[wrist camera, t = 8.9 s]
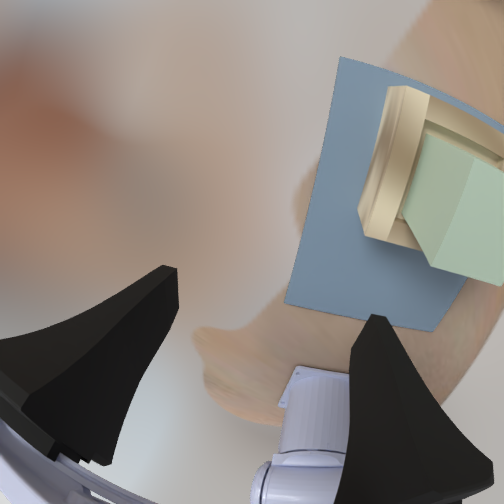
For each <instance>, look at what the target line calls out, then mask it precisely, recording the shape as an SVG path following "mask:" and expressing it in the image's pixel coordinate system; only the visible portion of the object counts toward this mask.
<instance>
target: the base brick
mask: <svg viewBox="0 0 504 504" xmlns="http://www.w3.org/2000/svg"><path fill="white" fill-rule="evenodd" d="M426 133H427V134H429V135H431V136H434V137H436V138H438V139H441V140H443V141H445V142H448V143H450V144H452V145H454V146H456V147H458V148H460V149H462V150H465V151H467V152H469V153H471V154H473V155H475V156H476V157H478V158H480V159H482V160H484V161H486V162H488V163H490V164H491V165H493V166H495V167H496V168H498V169H500V170H501V171H503V172H504V134H503V133H501V132H500V131H498V130H496V129H495V128H493V127H491V126H490V125H488V124H486V123H485V122H483V121H481V120H479V119H478V118H476V117H474V116H472V115H470V114H468V113H467V112H465V111H463V110H461V109H459V108H457V107H455V106H453V105H451V104H449V103H447V102H444V101H442V100H440V99H438V98H436V97H433V96H431V95H429V94H426V93H424V92H422V91H419V90H417V89H414V88H412V87H409V86H389V87H388V89H387V94H386V99H385V104H384V108H383V113H382V118H381V122H380V126H379V131H378V135H377V139H376V143H375V147H374V151H373V155H372V158H371V162H370V166H369V170H368V173H367V177H366V180H365V184H364V187H363V191H362V194H361V197H360V201H359V204H358V207H357V210H358V214H359V217H360V220H361V224H362V227H363V231H364V234H365V236H367V237H371V238H375V239H379V240H383V241H386V242H390V243H394V244H397V245H401V246H405V247H408V248H412V249H415V250H419V251H423V250H422V249H421V247H420V245H419V243H418V241H417V239H416V238H415V236H414V234H413V232H412V230H411V229H410V227H409V225H408V223H407V222H406V220H405V218H404V217H403V215H402V213H401V212H402V209H403V207H404V204H405V201H406V198H407V195H408V192H409V190H410V187H411V184H412V180H413V177H414V174H415V171H416V168H417V165H418V161H419V158H420V154H421V151H422V147H423V144H424V140H425V136H426Z"/></svg>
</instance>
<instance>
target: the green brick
mask: <svg viewBox="0 0 504 504" xmlns="http://www.w3.org/2000/svg"><path fill="white" fill-rule="evenodd" d="M401 213H402V215H403V217H404V218H405V220H406V222H407V223H408V225H409V227H410V229H411V230H412V232H413V234H414V236H415V238H416V239H417V241H418V243H419V245H420V247H421V249H422V250H423V252H424V254H425V256H426V258H427V260H428V262H429V264H430V266H431V267H435V268H439V269H442V270H446V271H449V272H453V273H456V274H460V275H463V276H467V277H470V278H474V279H477V280H480V281H484V282H487V283H490V284H494V285H497V286H500V287H501V286H502V284H503V282H504V172H503V171H501V170H500V169H498V168H496V167H495V166H493V165H491V164H490V163H488V162H486V161H484V160H482V159H480V158H478V157H476V156H475V155H473V154H471V153H469V152H467V151H465V150H462V149H460V148H458V147H456V146H454V145H452V144H450V143H448V142H445V141H443V140H441V139H438V138H436V137H434V136H431V135H429V134H427V133H426V136H425V140H424V144H423V147H422V151H421V154H420V158H419V161H418V165H417V168H416V171H415V174H414V177H413V180H412V184H411V187H410V190H409V192H408V195H407V198H406V201H405V204H404V207H403V209H402V212H401Z"/></svg>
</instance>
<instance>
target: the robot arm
mask: <svg viewBox="0 0 504 504" xmlns="http://www.w3.org/2000/svg"><path fill="white" fill-rule="evenodd" d="M178 309H179V299H178V278H177V268H173V267H169V266H165V265H162V266H160V267H158V268H156V269H155V270H153V271H152V272H150V273H148V274H147V275H145V276H144V277H143V278H141V279H139V280H138V281H136V282H135V283H133V284H131V285H130V286H128V287H127V288H125V289H124V290H122V291H120V292H119V293H117V294H115V295H114V296H112V297H110V298H108V299H107V300H105V301H103V302H102V303H100V304H98V305H96V306H95V307H93V308H91V309H89V310H87V311H85V312H83V313H81V314H79V315H76V316H74V317H73V318H70V319H68V320H65V321H63V322H60V323H57V324H55V325H52V326H50V327H47V328H44V329H41V330H38V331H35V332H32V333H28V334H25V335H20V336H16V337H12V338H6V339H1V340H0V490H1V491H2V493H3V494H4V495H5V497H6V498H7V499H8V500H9V501H10V502H11V503H12V504H110V503H108V502H106V501H103V500H101V499H98V498H96V497H94V496H92V495H91V492H90V490H91V491H93V492H95V493H97V494H98V495H100V496H102V497H104V498H106V499H108V500H110V501H112V502H114V503H116V504H157V503H155V502H152V501H150V500H148V499H145V498H143V497H140V496H138V495H136V494H134V493H131V492H129V491H127V490H125V489H122V488H121V487H119V486H117V485H115V484H113V483H111V482H109V481H107V480H105V479H103V478H101V477H99V476H98V475H96V474H94V473H92V472H91V471H89V470H87V469H85V468H84V467H82V466H80V465H79V464H78V463H79V461H80V459H81V460H83V461H85V462H86V463H90V461H91V460H93V461H94V462H96V463H98V464H100V465H102V466H107V465H110V464H112V459H113V455H114V451H115V448H116V444H117V441H118V437H119V434H120V431H121V428H122V425H123V422H124V419H125V417H126V414H127V411H128V409H129V406H130V404H131V401H132V399H133V396H134V394H135V392H136V389H137V387H138V385H139V382H140V380H141V378H142V376H143V374H144V373H145V371H146V369H147V367H148V366H149V364H150V362H151V361H152V359H153V357H154V356H155V354H156V352H157V351H158V349H159V347H160V346H161V344H162V342H163V341H164V339H165V337H166V335H167V334H168V332H169V330H170V328H171V325H172V323H173V321H174V319H175V316H176V314H177V311H178ZM278 406H279V407H281V408H285V414H284V419H283V425H282V430H281V435H280V441H279V446H278V449H279V453H278V454H273V459H272V461H267V462H265V463H264V464H263V465H262V466H261V467H259V468H258V470H257V472H256V474H255V476H254V479H253V483H252V487H251V493H250V504H462V499H465V498H467V497H469V496H472V495H474V494H477V493H479V492H481V491H483V490H485V489H487V488H489V487H491V486H492V485H493V484H494V473H493V462H492V461H491V460H490V459H489V458H488V457H486V456H485V455H484V454H483V453H482V452H481V451H479V450H478V449H477V448H476V447H475V446H474V445H473V444H472V443H471V442H470V441H469V440H468V439H467V438H466V437H465V436H464V435H463V434H462V432H461V431H460V430H459V429H458V428H457V427H456V426H455V424H454V423H453V422H452V421H451V420H450V418H449V417H448V416H447V415H446V413H445V412H444V411H443V410H442V408H441V407H440V405H439V404H438V402H437V401H436V400H435V398H434V397H433V395H432V394H431V392H430V391H429V389H428V388H427V386H426V385H425V383H424V381H423V380H422V378H421V377H420V375H419V373H418V372H417V370H416V368H415V367H414V365H413V363H412V361H411V360H410V358H409V356H408V354H407V353H406V351H405V349H404V347H403V345H402V344H401V342H400V340H399V338H398V336H397V335H396V333H395V331H394V329H393V328H392V326H391V324H390V322H389V321H388V319H387V317H386V316H381V315H376V314H371V315H370V317H369V319H368V320H367V322H366V324H365V326H364V328H363V329H362V331H361V333H360V335H359V336H358V338H357V340H356V341H355V343H354V345H353V346H352V348H351V355H350V366H349V374H345V373H338V372H332V371H326V370H321V369H315V368H310V367H304V366H297V367H296V368H295V370H294V372H293V374H292V376H291V378H290V380H289V382H288V384H287V386H286V389H285V391H284V393H283V395H282V397H281V399H280V401H279V403H278ZM89 489H90V490H89Z"/></svg>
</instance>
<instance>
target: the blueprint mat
mask: <svg viewBox="0 0 504 504" xmlns="http://www.w3.org/2000/svg"><path fill="white" fill-rule="evenodd" d="M389 86H409V87H412V88H414V89H417V90H419V91H422V92H424V93H426V94H429V95H431V96H433V97H436V98H438V99H440V100H442V101H444V102H447V103H449V104H451V105H453V106H455V107H457V108H459V109H461V110H463V111H465V112H467V113H468V114H470V115H472V116H474V117H476V118H478V119H479V120H481V121H483V122H485V123H486V124H488V125H490V126H491V127H493V128H495V129H496V130H498V131H500V132H501V133H503V134H504V126H503V125H501V124H500V123H498V122H496V121H495V120H493V119H492V118H490V117H488V116H487V115H485V114H483V113H481V112H480V111H478V110H476V109H474V108H473V107H471V106H469V105H467V104H465V103H463V102H461V101H459V100H457V99H455V98H453V97H451V96H449V95H447V94H445V93H443V92H441V91H439V90H437V89H434V88H432V87H430V86H428V85H425V84H423V83H420V82H418V81H416V80H413V79H410V78H408V77H405V76H403V75H400V74H397V73H394V72H391V71H389V70H386V69H383V68H379V67H376V66H373V65H370V64H366V63H363V62H360V61H356V60H352V59H348V58H345V57H340V58H339V64H338V70H337V75H336V81H335V86H334V92H333V98H332V102H331V108H330V113H329V119H328V123H327V128H326V133H325V137H324V142H323V147H322V152H321V156H320V161H319V165H318V170H317V174H316V179H315V183H314V187H313V192H312V196H311V200H310V204H309V208H308V213H307V217H306V221H305V225H304V229H303V233H302V237H301V241H300V244H299V248H298V252H297V256H296V260H295V264H294V267H293V271H292V275H291V279H290V282H289V286H288V289H287V293H286V296H285V300H284V303H286V304H290V305H295V306H299V307H304V308H308V309H313V310H318V311H322V312H327V313H332V314H337V315H341V316H346V317H351V318H356V319H362V320H368V319H369V317H370V315H371V314H376V315H381V316H386V317H387V319H388V321H389V322H390V324H391V325H394V326H399V327H405V328H411V329H417V330H423V331H429V332H433V331H434V329H435V328H436V326H437V325H438V323H439V322H440V321H441V319H442V318H443V316H444V315H445V313H446V312H447V310H448V309H449V307H450V306H451V304H452V302H453V301H454V299H455V298H456V296H457V294H458V293H459V291H460V290H461V288H462V286H463V284H464V283H465V281H466V279H467V278H468V277H467V276H463V275H460V274H456V273H453V272H449V271H446V270H442V269H439V268H435V267H431V266H430V264H429V262H428V260H427V258H426V256H425V254H424V252H423V251H419V250H415V249H412V248H408V247H405V246H401V245H397V244H394V243H390V242H386V241H383V240H379V239H375V238H371V237H367V236H365V234H364V231H363V227H362V224H361V220H360V217H359V214H358V210H357V207H358V204H359V201H360V197H361V194H362V191H363V187H364V184H365V180H366V177H367V173H368V170H369V166H370V162H371V158H372V155H373V151H374V147H375V143H376V139H377V135H378V131H379V126H380V122H381V118H382V113H383V108H384V104H385V99H386V94H387V89H388V87H389Z"/></svg>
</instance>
